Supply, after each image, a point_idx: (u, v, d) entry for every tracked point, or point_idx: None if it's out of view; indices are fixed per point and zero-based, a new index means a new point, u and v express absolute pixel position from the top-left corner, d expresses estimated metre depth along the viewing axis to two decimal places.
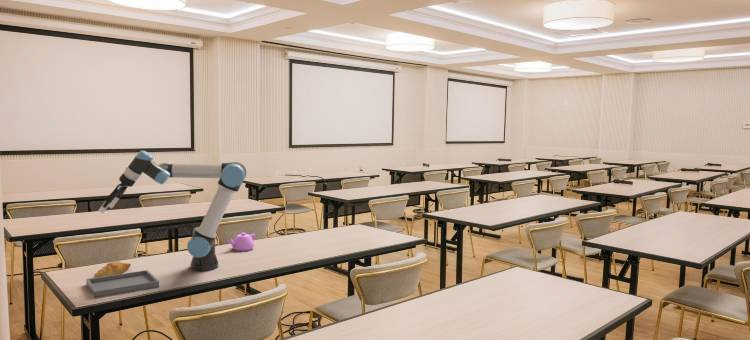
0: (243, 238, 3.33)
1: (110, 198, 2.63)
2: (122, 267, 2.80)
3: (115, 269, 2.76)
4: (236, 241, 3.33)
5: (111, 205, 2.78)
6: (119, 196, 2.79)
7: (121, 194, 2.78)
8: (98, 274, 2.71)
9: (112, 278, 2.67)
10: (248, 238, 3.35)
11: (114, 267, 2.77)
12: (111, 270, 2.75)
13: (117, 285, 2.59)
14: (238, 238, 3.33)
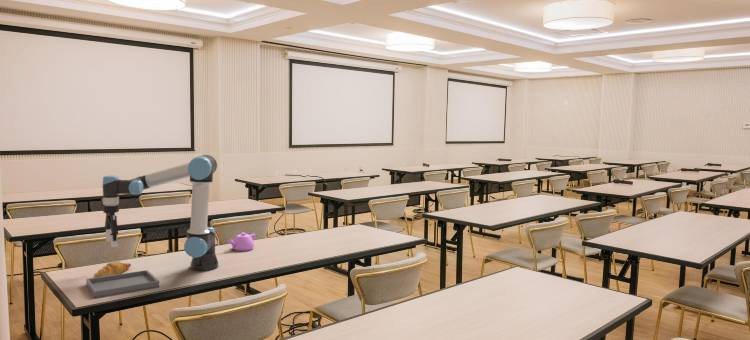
0: (243, 238, 3.33)
1: (115, 230, 2.70)
2: (122, 267, 2.80)
3: (115, 269, 2.76)
4: (236, 241, 3.33)
5: (109, 238, 2.83)
6: (110, 227, 2.83)
7: None
8: (98, 274, 2.71)
9: (112, 278, 2.67)
10: (248, 238, 3.35)
11: (114, 267, 2.76)
12: (111, 270, 2.75)
13: (117, 285, 2.59)
14: (238, 238, 3.33)
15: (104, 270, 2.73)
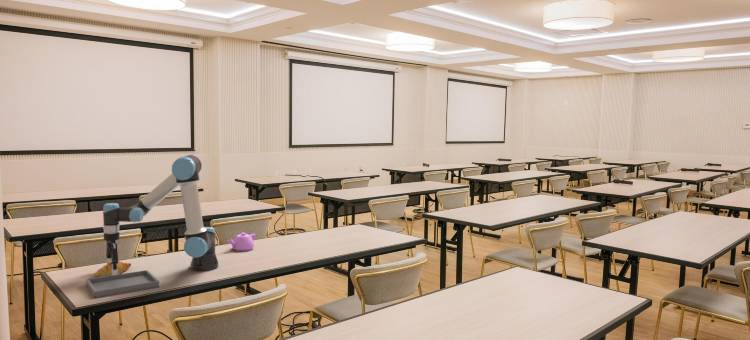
0: (243, 238, 3.33)
1: (116, 259, 2.73)
2: (122, 267, 2.80)
3: None
4: (236, 241, 3.33)
5: None
6: None
7: None
8: (97, 273, 2.71)
9: (112, 278, 2.67)
10: (248, 238, 3.35)
11: None
12: (110, 270, 2.75)
13: (117, 285, 2.59)
14: (238, 238, 3.33)
15: (103, 269, 2.73)
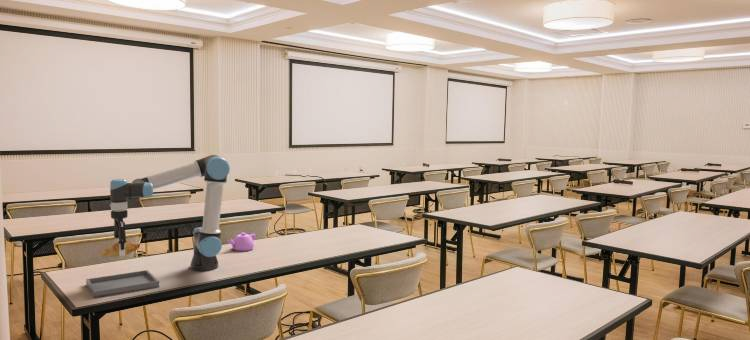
0: (243, 238, 3.33)
1: (123, 238, 2.55)
2: (130, 247, 2.63)
3: None
4: (236, 241, 3.33)
5: None
6: None
7: None
8: (103, 253, 2.54)
9: (112, 278, 2.67)
10: (248, 238, 3.35)
11: None
12: (118, 250, 2.58)
13: (117, 285, 2.59)
14: (238, 238, 3.33)
15: (110, 249, 2.56)
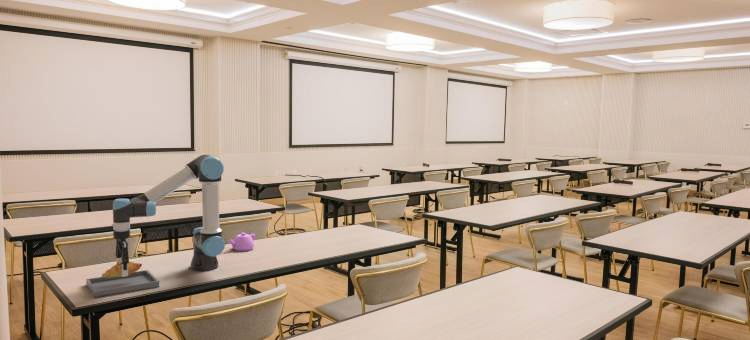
0: (243, 238, 3.33)
1: (126, 259, 2.53)
2: (132, 267, 2.60)
3: None
4: (236, 241, 3.33)
5: None
6: None
7: None
8: (106, 274, 2.52)
9: (112, 278, 2.67)
10: (248, 238, 3.35)
11: None
12: (120, 270, 2.56)
13: (117, 285, 2.59)
14: (238, 238, 3.33)
15: (113, 270, 2.54)
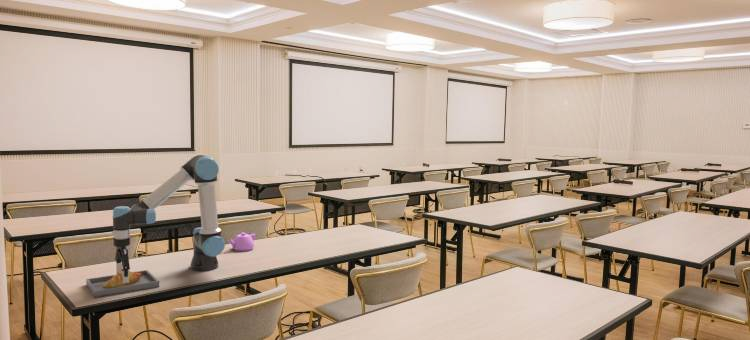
0: (243, 238, 3.33)
1: (127, 265, 2.53)
2: (132, 277, 2.61)
3: None
4: (236, 241, 3.33)
5: None
6: (121, 260, 2.66)
7: None
8: (106, 285, 2.52)
9: None
10: (248, 238, 3.35)
11: None
12: (120, 280, 2.56)
13: None
14: (238, 238, 3.33)
15: (113, 280, 2.55)
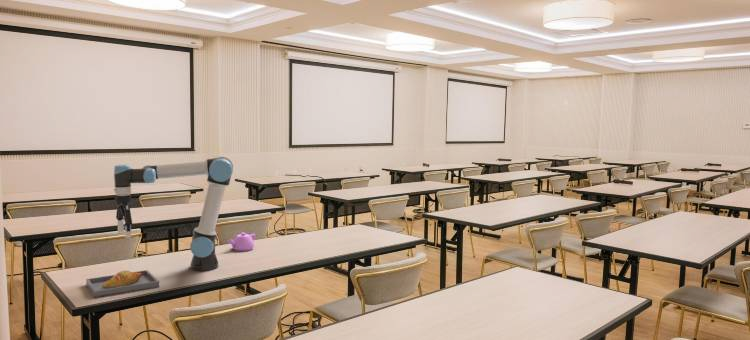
0: (243, 238, 3.33)
1: (129, 220, 2.64)
2: (132, 277, 2.61)
3: (124, 279, 2.57)
4: (236, 241, 3.33)
5: (121, 229, 2.77)
6: (122, 218, 2.76)
7: (123, 214, 2.75)
8: (106, 285, 2.52)
9: None
10: (248, 238, 3.35)
11: (123, 277, 2.58)
12: (120, 280, 2.56)
13: None
14: (238, 238, 3.33)
15: (113, 280, 2.55)
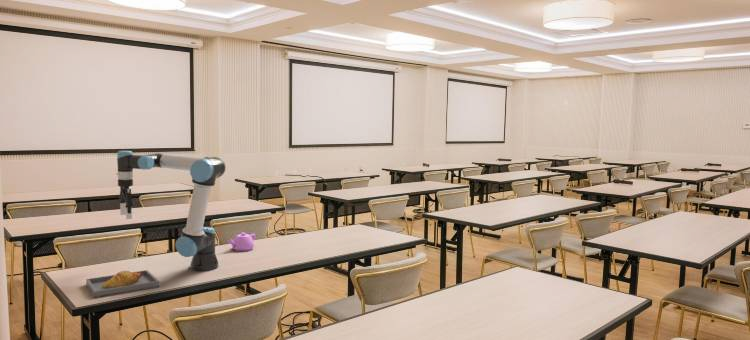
0: (243, 238, 3.33)
1: (130, 202, 2.80)
2: (132, 277, 2.61)
3: (124, 279, 2.57)
4: (236, 241, 3.33)
5: (124, 212, 2.94)
6: (124, 201, 2.93)
7: None
8: (106, 285, 2.52)
9: None
10: (248, 238, 3.35)
11: (123, 277, 2.58)
12: (120, 280, 2.56)
13: None
14: (238, 238, 3.33)
15: (113, 280, 2.54)
